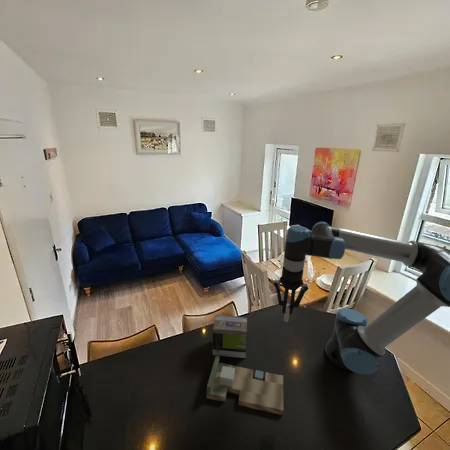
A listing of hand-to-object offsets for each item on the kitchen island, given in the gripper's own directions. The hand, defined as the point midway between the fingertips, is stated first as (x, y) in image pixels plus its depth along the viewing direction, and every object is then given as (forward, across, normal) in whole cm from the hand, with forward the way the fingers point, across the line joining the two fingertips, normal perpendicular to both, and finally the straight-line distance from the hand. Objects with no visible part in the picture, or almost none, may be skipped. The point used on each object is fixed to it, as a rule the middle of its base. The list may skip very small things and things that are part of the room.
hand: (286, 319), depth 102 cm
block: (+25, +8, +9) cm, 27 cm away
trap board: (+24, +13, +14) cm, 31 cm away
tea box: (+25, +23, -4) cm, 34 cm away
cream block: (+22, +21, +14) cm, 33 cm away
